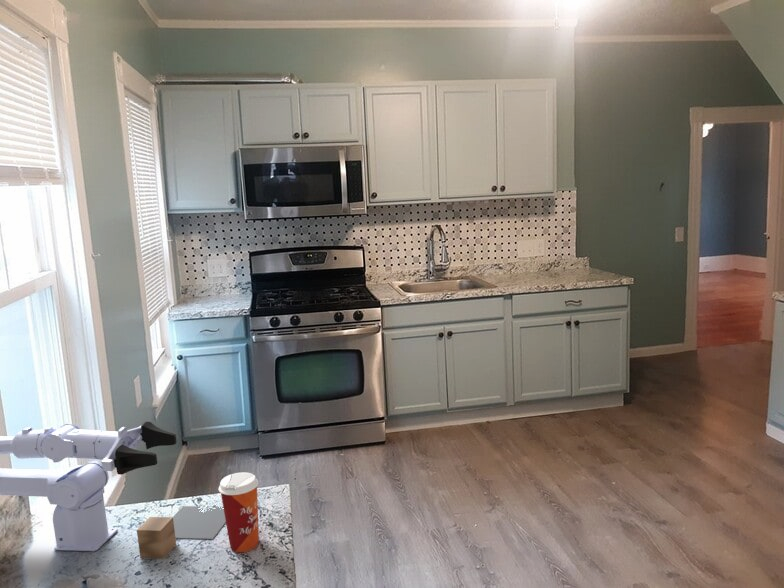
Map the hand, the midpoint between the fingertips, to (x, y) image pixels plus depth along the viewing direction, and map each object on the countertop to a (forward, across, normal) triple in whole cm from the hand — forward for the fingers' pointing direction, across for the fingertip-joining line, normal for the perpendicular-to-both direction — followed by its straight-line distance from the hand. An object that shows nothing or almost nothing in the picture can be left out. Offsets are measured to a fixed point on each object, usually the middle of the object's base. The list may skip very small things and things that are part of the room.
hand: (165, 449), depth 122 cm
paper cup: (+15, -2, +20) cm, 25 cm away
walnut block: (-2, -5, +20) cm, 21 cm away
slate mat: (+1, +6, +21) cm, 22 cm away
